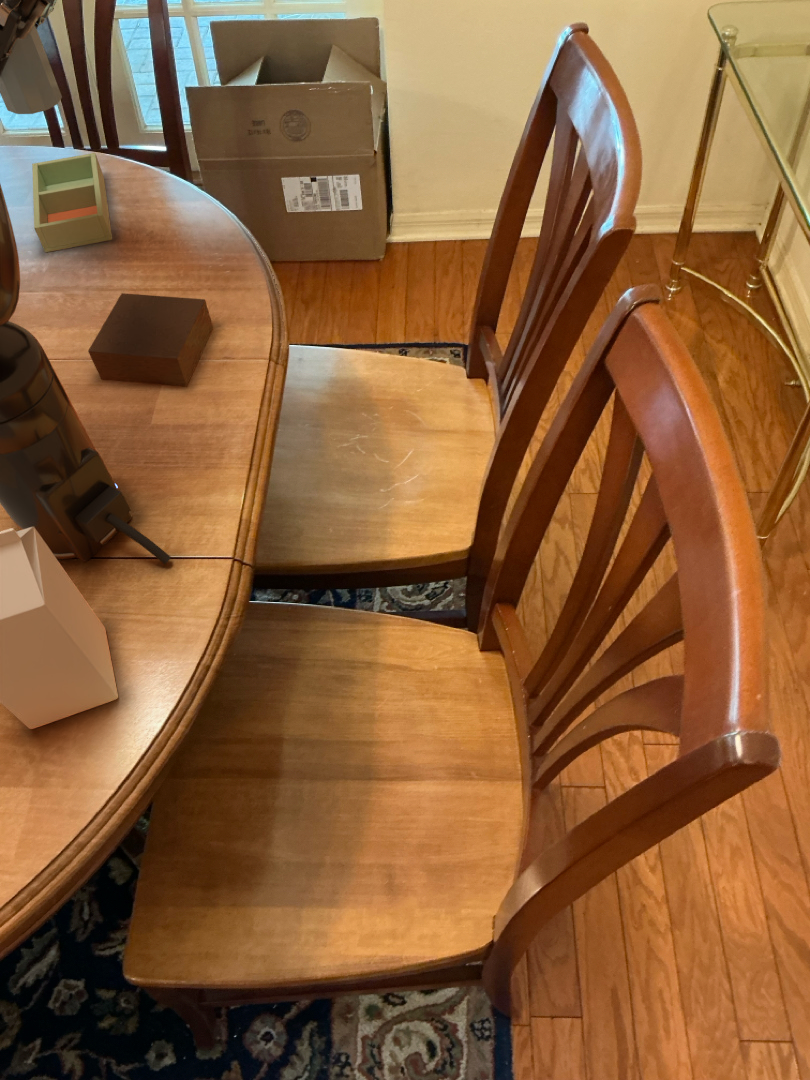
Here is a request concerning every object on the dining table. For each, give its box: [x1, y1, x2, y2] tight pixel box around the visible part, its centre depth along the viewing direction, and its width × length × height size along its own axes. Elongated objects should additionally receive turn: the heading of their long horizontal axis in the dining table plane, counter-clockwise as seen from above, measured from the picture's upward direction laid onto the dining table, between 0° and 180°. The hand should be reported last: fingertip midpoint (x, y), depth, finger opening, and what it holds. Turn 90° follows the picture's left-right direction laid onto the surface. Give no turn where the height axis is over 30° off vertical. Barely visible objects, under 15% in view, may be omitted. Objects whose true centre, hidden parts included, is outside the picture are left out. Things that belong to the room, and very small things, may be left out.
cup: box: [0, 21, 63, 115], centre depth 82 cm, size 6×6×10 cm
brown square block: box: [87, 292, 214, 387], centre depth 86 cm, size 10×10×4 cm
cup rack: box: [31, 152, 113, 253], centre depth 104 cm, size 9×16×4 cm, turn 17°
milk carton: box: [0, 527, 119, 730], centre depth 56 cm, size 7×7×19 cm
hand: (1, 58), depth 82 cm, fingers closed on cup, 6 cm apart
